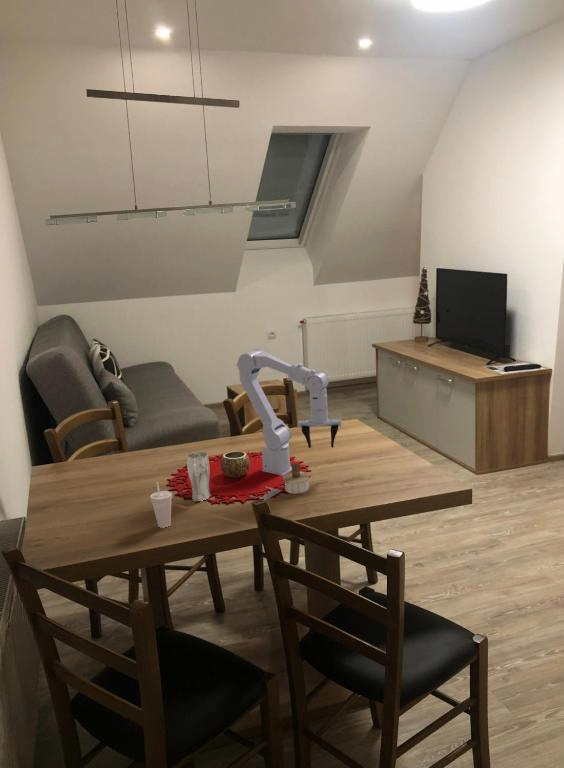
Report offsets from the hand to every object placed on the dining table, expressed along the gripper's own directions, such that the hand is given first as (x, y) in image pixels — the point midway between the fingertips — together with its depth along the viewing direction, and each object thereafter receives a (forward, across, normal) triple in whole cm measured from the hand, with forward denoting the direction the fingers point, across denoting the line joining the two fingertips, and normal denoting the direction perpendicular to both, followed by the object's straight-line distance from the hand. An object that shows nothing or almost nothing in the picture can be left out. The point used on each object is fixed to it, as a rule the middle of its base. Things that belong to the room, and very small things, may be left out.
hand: (321, 446), depth 217 cm
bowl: (+10, -8, -12) cm, 18 cm away
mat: (+10, -19, -15) cm, 26 cm away
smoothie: (+11, -45, -38) cm, 59 cm away
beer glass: (+11, -38, -18) cm, 44 cm away
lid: (+6, -8, -12) cm, 16 cm away
